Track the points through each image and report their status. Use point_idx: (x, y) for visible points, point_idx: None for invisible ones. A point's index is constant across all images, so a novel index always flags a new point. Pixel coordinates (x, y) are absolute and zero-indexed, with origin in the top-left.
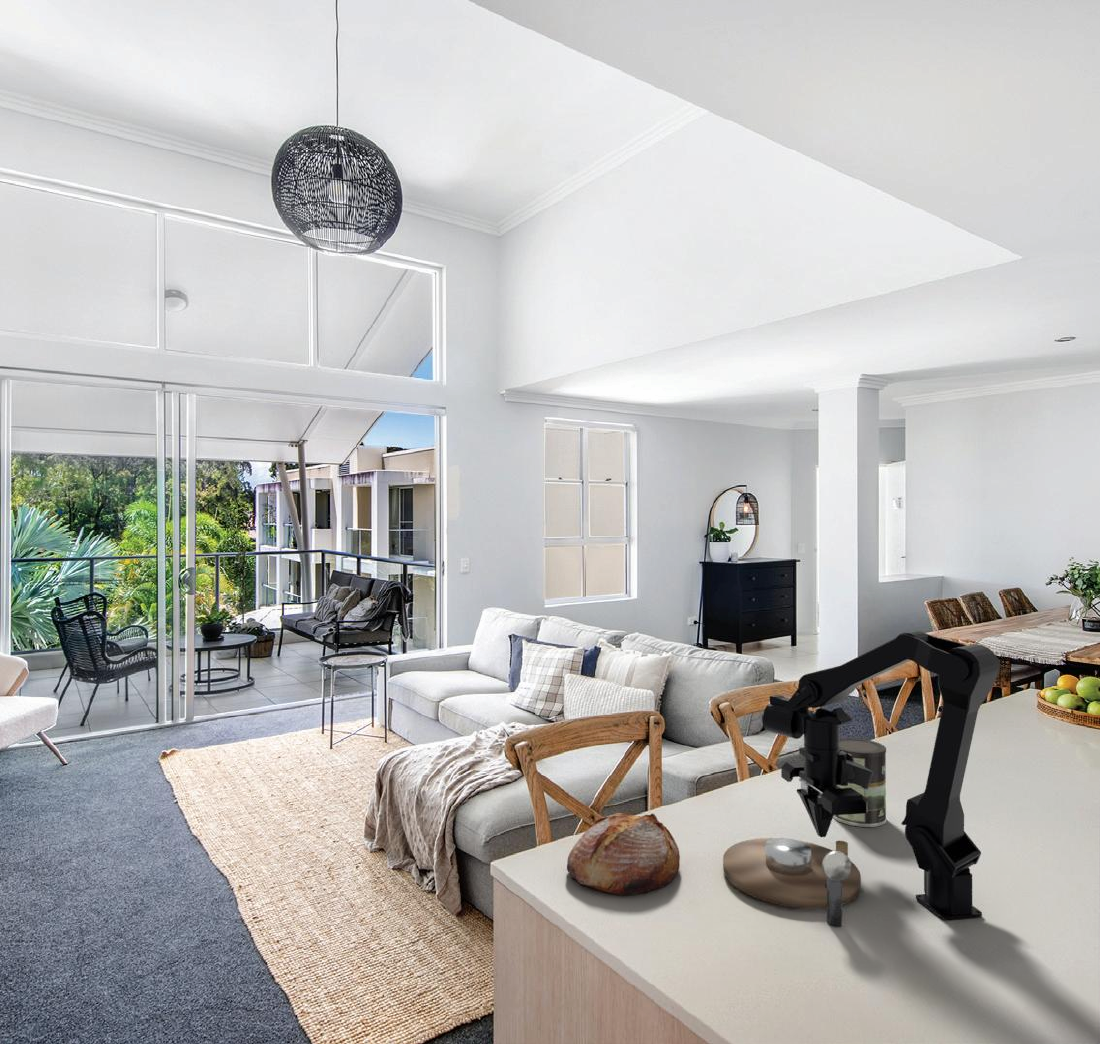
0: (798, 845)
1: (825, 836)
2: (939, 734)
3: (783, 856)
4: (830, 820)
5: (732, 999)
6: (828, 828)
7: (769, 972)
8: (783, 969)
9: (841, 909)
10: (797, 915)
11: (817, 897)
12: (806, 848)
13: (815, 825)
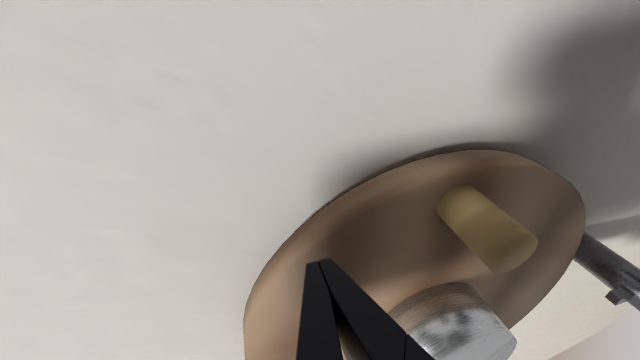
0: (458, 358)
1: (328, 257)
2: None
3: None
4: (405, 335)
5: (583, 328)
6: (359, 288)
7: (580, 308)
8: (586, 298)
9: (616, 253)
10: None
11: (557, 281)
12: (484, 342)
13: (341, 343)
